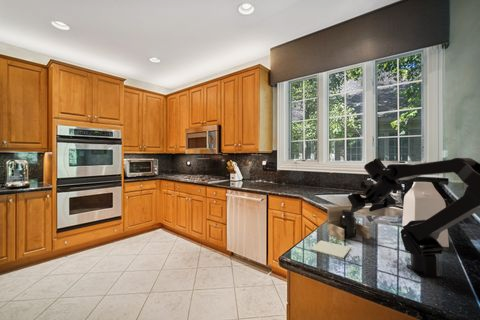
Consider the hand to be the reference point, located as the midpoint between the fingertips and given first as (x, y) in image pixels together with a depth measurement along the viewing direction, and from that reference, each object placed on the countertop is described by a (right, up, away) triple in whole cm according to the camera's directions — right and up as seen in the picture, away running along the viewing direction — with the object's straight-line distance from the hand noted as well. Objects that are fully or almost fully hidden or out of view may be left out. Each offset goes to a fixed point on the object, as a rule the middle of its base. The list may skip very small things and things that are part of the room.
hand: (360, 211), depth 92 cm
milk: (+29, -14, +2) cm, 32 cm away
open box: (-2, -13, +8) cm, 16 cm away
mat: (-16, -13, -8) cm, 23 cm away
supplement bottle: (-2, -14, +8) cm, 16 cm away
